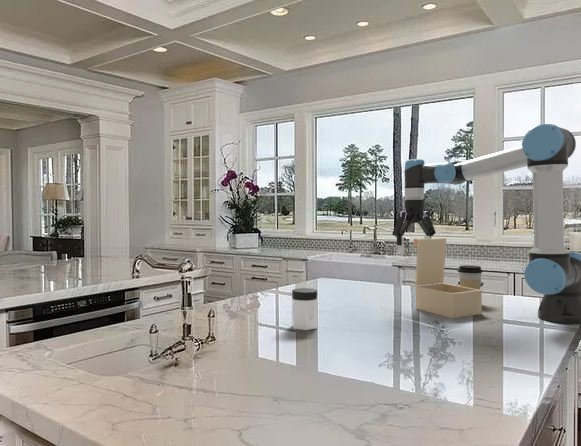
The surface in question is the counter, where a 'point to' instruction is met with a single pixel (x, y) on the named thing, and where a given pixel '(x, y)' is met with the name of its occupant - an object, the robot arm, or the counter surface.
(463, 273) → the coffee cup
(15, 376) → the counter surface
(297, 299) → the jar
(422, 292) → the carton
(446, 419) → the counter surface
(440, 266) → the lid flap
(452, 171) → the robot arm
